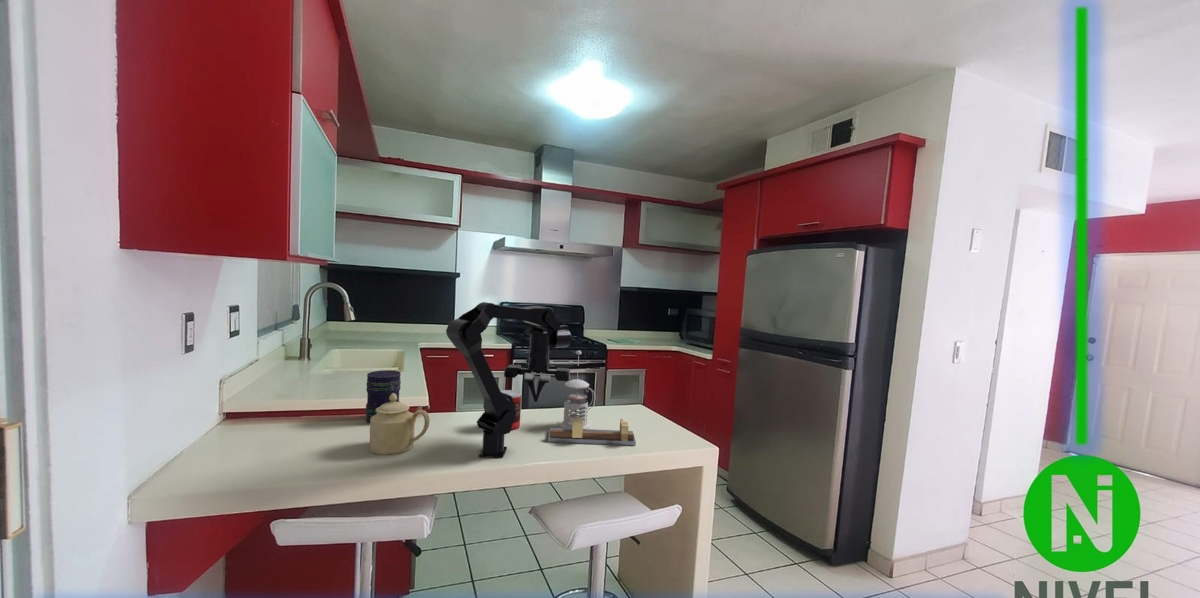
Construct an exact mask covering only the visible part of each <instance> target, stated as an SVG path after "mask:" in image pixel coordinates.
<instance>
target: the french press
mask: <svg viewBox="0 0 1200 598" xmlns="http://www.w3.org/2000/svg"><path fill="white" fill-rule="evenodd" d="M575 354H576V355H578V356H577V365H580V364H579V363H580V361H579V360H580V355H582V351H581V350H576V351H575ZM576 372H577V374H576V375H577V376H576V378H575V379H574V378H573V379H569V381H565V383H564V385H565V387H566V388H568V389H576V390H582V389H585V392H586V393H589V391H591V395H592V399H591V401H590V404H589V401H588V400H587V398H588V396H587V395H586V394H582V393H578V391H576V393H568V394H566V395H565V398H566V399H564V407H563V420H562V422H561V423H560V428H570V429H572V428H573V418H576V419H577V417H580V419H583V429H590V424H589V423H588V411H589V410H591V409H592V408H593V407H594V405H595V402H596V392H595V391H594V390H593V389H592V388H590V383H588V382H587V381H585V380H582V379H579V371H576ZM571 402H572V403H571ZM577 402H578V403H577ZM590 406H591V407H590ZM589 407H590V408H589Z"/></svg>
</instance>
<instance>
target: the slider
mask: <svg viewBox="0 0 1200 598" xmlns="http://www.w3.org/2000/svg"><path fill="white" fill-rule="evenodd" d="M582 432H583V419H580V417H577V419H576V418H573V428H572V438H582Z"/></svg>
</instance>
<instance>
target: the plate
mask: <svg viewBox="0 0 1200 598" xmlns="http://www.w3.org/2000/svg"><path fill="white" fill-rule="evenodd" d="M550 430H572V429H570V428H562V427H550V428H549V432H548V437H547V443H559V444H560V443H564V444H565V443H566V444H584V445H585V444H587V445H588V444H589V445H593V444H594V445H610V446H612V445H613V446H636V443H637V442H636V437H635V436H634V440H628V441H621V440H619V439H595V438H570V437H550ZM583 431H598V432H620V430H616V429H615V430H614V429H591V428H587V429H583ZM628 433H634V432H633V430H628Z"/></svg>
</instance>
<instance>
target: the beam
mask: <svg viewBox="0 0 1200 598" xmlns="http://www.w3.org/2000/svg"><path fill="white" fill-rule="evenodd" d="M629 426H630V425H629V423H628V421H624V419H623V418H620V419H619V431H620V432H598V431H583V432H582V438H595V439H619V440H621V441H628V440H634V437H635V433H634V432H633V433H628V431H629ZM549 432H550V437H570V438H572V430H550V429H549Z"/></svg>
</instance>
